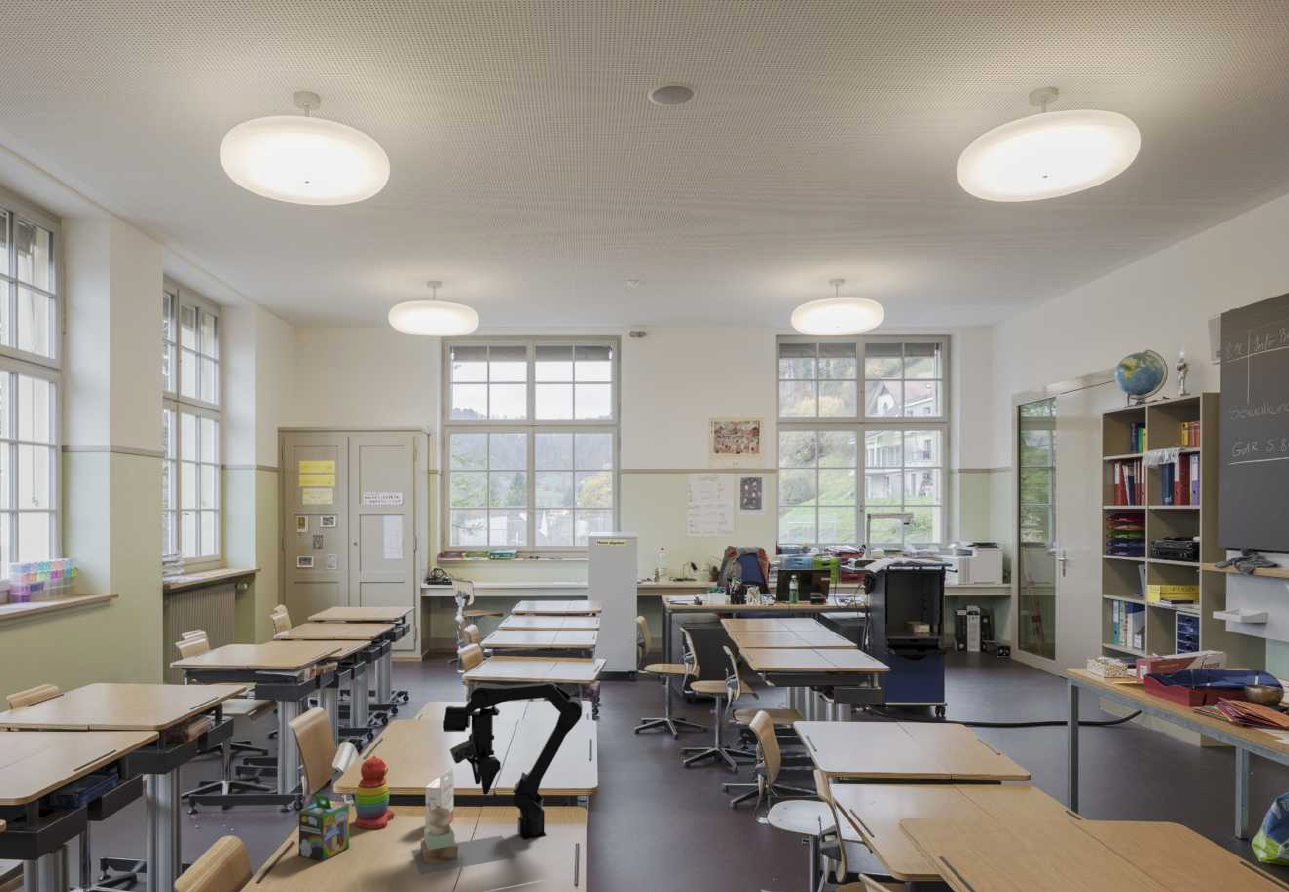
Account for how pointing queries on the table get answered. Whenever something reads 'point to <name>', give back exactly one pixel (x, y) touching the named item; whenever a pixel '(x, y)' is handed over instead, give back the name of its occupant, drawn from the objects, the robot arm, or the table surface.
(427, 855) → the walnut base block
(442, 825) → the maple cylinder
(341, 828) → the chalk box
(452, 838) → the sage top block
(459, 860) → the rubber mat
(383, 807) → the stacking bear
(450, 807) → the ink cartridge box
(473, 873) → the table surface
